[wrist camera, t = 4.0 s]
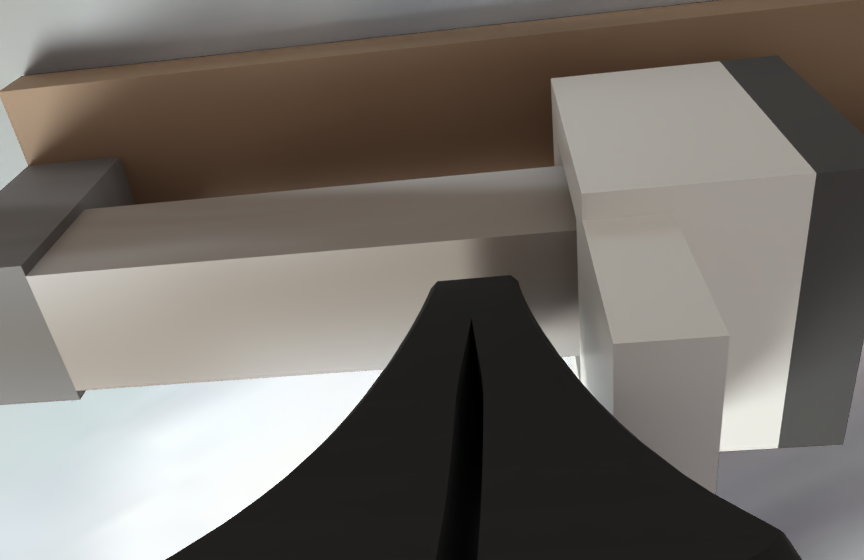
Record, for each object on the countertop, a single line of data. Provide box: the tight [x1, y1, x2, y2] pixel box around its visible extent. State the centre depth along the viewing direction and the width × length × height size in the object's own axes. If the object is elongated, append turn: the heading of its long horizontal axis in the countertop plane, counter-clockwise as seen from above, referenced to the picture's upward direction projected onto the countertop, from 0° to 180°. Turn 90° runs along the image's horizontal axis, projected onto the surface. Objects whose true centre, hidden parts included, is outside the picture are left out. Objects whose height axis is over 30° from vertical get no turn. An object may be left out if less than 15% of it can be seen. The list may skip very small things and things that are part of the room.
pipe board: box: [0, 0, 864, 405], centre depth 15 cm, size 6×25×5 cm, turn 97°
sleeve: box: [551, 61, 816, 494], centre depth 13 cm, size 5×3×8 cm, turn 7°
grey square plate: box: [720, 55, 864, 448], centre depth 14 cm, size 5×1×5 cm, turn 7°
